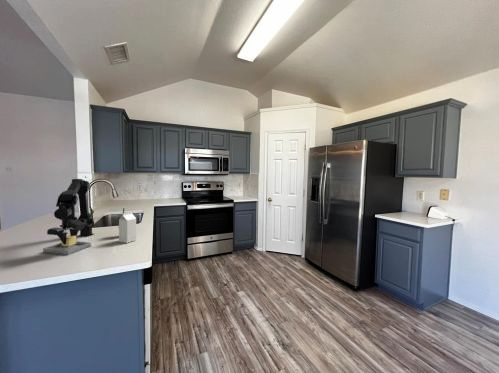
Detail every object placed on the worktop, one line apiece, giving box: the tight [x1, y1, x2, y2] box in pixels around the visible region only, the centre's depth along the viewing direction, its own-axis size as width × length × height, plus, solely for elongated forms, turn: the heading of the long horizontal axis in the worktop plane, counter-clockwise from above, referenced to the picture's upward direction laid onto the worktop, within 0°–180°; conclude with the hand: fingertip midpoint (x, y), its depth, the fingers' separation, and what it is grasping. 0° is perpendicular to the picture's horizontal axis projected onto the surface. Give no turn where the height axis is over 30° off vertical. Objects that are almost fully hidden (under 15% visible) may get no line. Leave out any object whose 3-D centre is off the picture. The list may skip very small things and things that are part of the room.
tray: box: [42, 240, 92, 256], centre depth 125 cm, size 14×16×2 cm
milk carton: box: [118, 211, 137, 244], centre depth 142 cm, size 7×7×19 cm
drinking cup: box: [117, 207, 125, 226], centre depth 153 cm, size 8×8×20 cm
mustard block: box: [62, 234, 77, 246], centre depth 122 cm, size 4×4×4 cm
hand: (69, 242), depth 122 cm, fingers closed on mustard block, 4 cm apart
